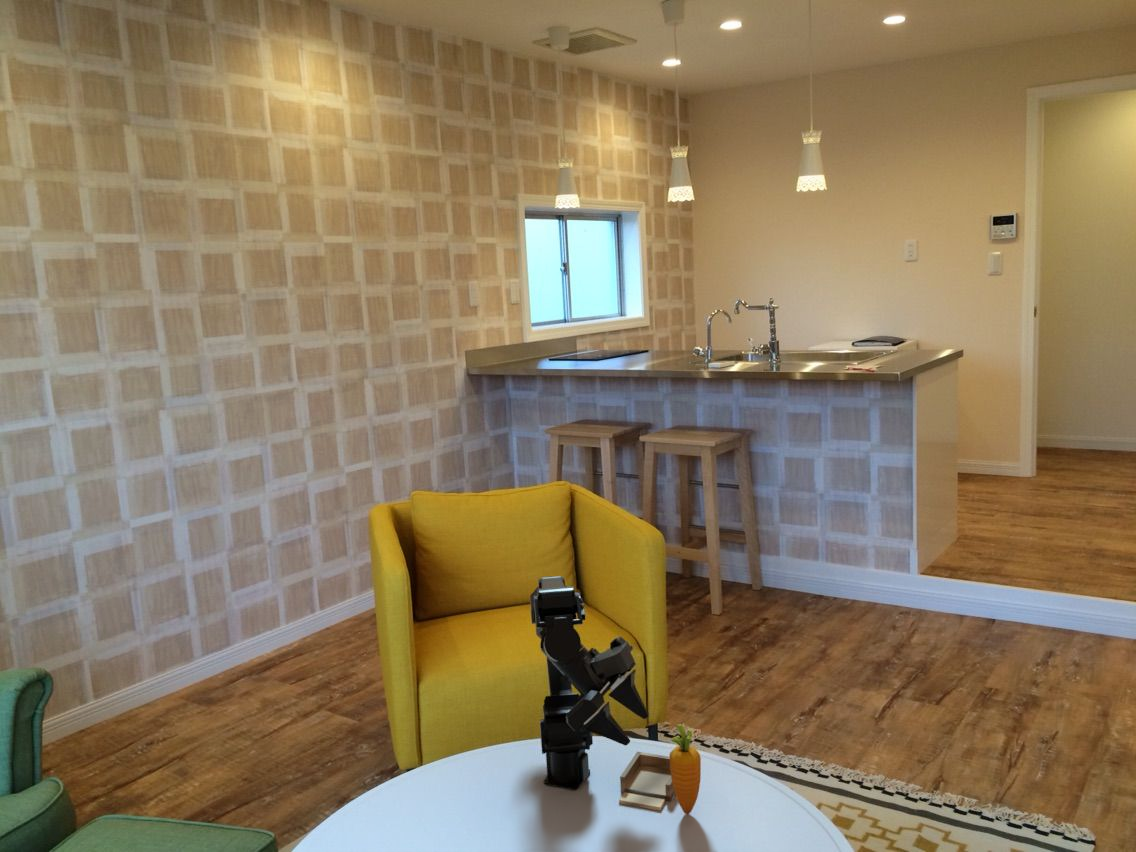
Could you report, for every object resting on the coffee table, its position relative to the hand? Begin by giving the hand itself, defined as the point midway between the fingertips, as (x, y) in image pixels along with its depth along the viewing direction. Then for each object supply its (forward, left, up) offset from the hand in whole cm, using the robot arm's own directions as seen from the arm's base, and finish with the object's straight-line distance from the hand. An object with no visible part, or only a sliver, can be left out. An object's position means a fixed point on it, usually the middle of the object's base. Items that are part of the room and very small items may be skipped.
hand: (637, 730), depth 151 cm
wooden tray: (0, +5, -13) cm, 14 cm away
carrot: (+8, 0, -14) cm, 16 cm away
